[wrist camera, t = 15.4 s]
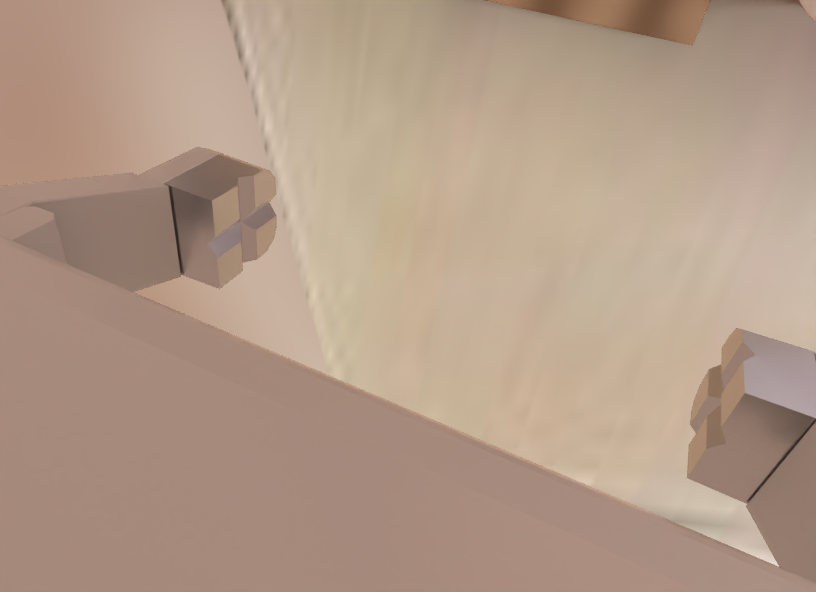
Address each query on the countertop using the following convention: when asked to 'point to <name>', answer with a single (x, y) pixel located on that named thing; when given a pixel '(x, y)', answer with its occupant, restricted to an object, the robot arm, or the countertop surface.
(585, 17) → the walnut block
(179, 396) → the robot arm
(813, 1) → the pill bottle
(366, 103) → the countertop surface
